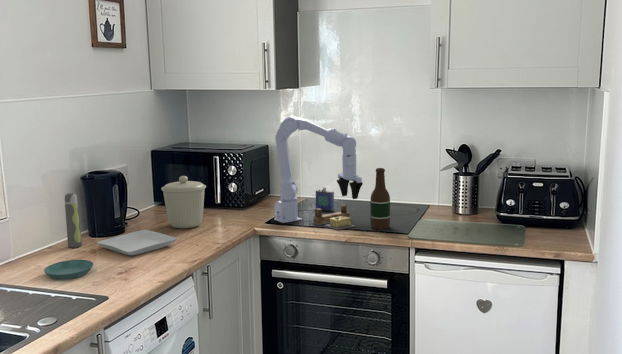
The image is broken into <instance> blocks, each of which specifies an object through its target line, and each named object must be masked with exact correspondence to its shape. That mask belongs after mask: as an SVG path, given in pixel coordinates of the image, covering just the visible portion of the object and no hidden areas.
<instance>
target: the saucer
mask: <svg viewBox="0 0 622 354" xmlns="http://www.w3.org/2000/svg"><path fill="white" fill-rule="evenodd" d="M93 267H94V262H93V261H91V260H89V259H88V260H87V259H69V260H63V261H59V262H55V263H53V264H50V265H48V266H47V267H45V268H44V269H43V272H44V273H45V274H46V275H47V276H48V277H50V278H52V279H53V280H61V281H62V280H63V281H64V280H72V279H76V278H80V277H83V276H85V275H86V274H88V273H89V272H90V271H91V270H92V268H93Z"/></svg>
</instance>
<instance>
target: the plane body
mask: <svg viewBox="0 0 622 354" xmlns="http://www.w3.org/2000/svg"><path fill="white" fill-rule="evenodd" d="M350 215H351V213H350V212H349V211H348V207H347V204H341V205H340V211H337V212H331V213H330V212H329V213H325V214H323V211H322V209H320V208H317V209H316V208H315V209H314V216H313V217H312V218H313V220H312V224H313V225H316V226H321V225H327V224H330V218H334V217H340V216H346V217H349V218H351V217H350Z"/></svg>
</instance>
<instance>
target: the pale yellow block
mask: <svg viewBox="0 0 622 354" xmlns="http://www.w3.org/2000/svg"><path fill="white" fill-rule="evenodd" d="M329 224H330V226H333V227H336V228H339V227H344V226H350V225H352V218H351V217H350V218H349V217H346V216H340V217H334V218H330V223H329Z"/></svg>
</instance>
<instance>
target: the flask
mask: <svg viewBox="0 0 622 354" xmlns="http://www.w3.org/2000/svg"><path fill="white" fill-rule="evenodd" d="M317 208H320V209H322V212H334V211H335V192H334V191H331V190H327V187H322V189H317V190H315V209H317Z"/></svg>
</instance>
